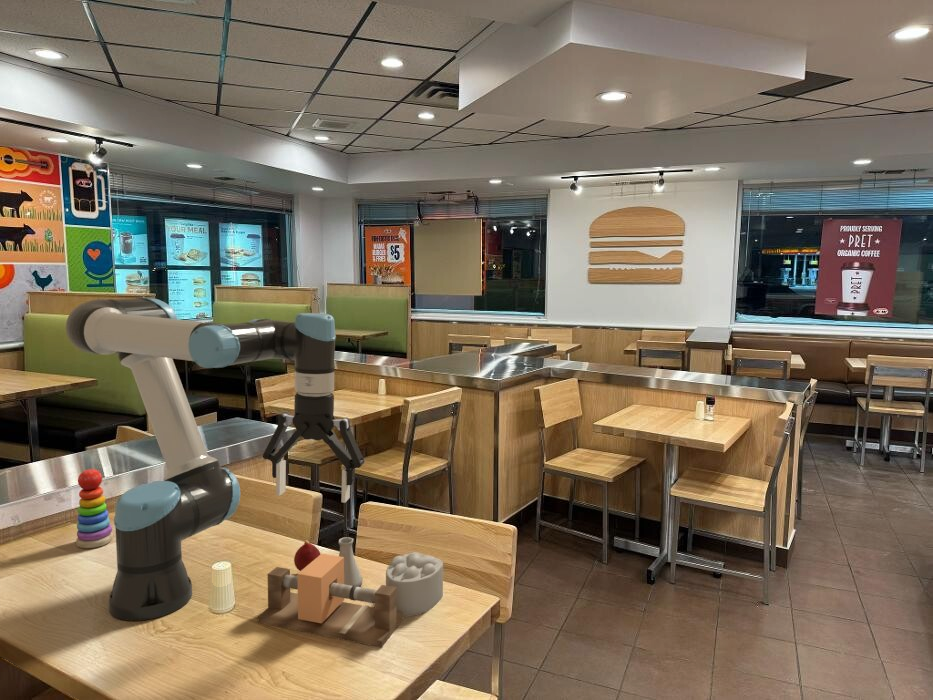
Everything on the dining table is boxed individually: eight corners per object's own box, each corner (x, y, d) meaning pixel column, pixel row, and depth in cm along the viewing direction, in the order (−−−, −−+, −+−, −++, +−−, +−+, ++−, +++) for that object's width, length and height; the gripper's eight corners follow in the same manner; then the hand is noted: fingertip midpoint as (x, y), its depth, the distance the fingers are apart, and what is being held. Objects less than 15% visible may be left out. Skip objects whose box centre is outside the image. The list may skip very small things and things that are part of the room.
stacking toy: (81, 537, 156) (77, 465, 154) (117, 534, 158) (113, 463, 156) (71, 551, 148) (67, 475, 146) (109, 547, 151) (105, 472, 148)
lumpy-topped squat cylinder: (448, 592, 132) (449, 554, 131) (417, 622, 121) (417, 580, 120) (407, 581, 137) (407, 543, 136) (373, 609, 125) (373, 568, 124)
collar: (298, 618, 118) (297, 573, 116) (322, 595, 126) (321, 553, 125) (321, 623, 116) (321, 577, 115) (344, 599, 125) (344, 557, 124)
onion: (323, 568, 142) (323, 535, 141) (318, 581, 136) (317, 546, 135) (297, 568, 142) (297, 535, 141) (291, 581, 136) (291, 546, 135)
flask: (355, 594, 131) (355, 549, 130) (323, 590, 132) (323, 545, 131) (367, 578, 138) (367, 535, 137) (337, 574, 139) (337, 531, 138)
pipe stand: (257, 622, 120) (257, 582, 119) (286, 597, 129) (286, 559, 128) (382, 647, 112) (382, 604, 111) (403, 618, 122) (403, 579, 121)
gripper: (245, 391, 119) (245, 497, 122) (370, 401, 116) (367, 510, 119) (263, 384, 127) (263, 484, 130) (381, 393, 123) (378, 496, 126)
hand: (312, 496), depth 124 cm, fingers open, 13 cm apart
